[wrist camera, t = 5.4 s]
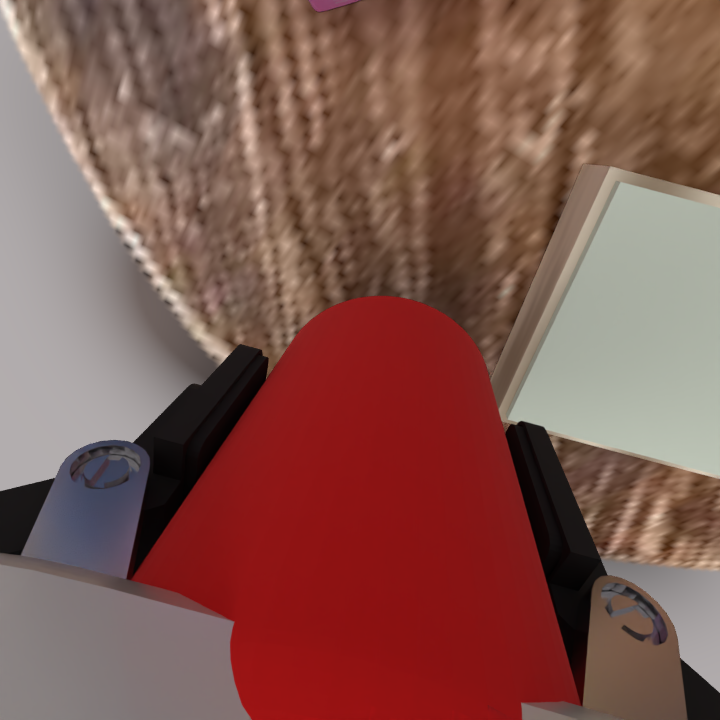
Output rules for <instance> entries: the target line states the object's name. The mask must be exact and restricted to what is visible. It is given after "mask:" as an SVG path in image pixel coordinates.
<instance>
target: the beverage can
mask: <svg viewBox="0 0 720 720" xmlns="http://www.w3.org/2000/svg"><path fill="white" fill-rule="evenodd" d="M131 581H135V582H139V583H143V584H147V585H150V586H154V587H158V588H162V589H165V590H169V591H173V592H176V593H179V594H181V595H183V596H185V597H187V598H189V599H191V600H193V601H195V602H197V603H199V604H201V605H202V606H204V607H206V608H208V609H210V610H212V611H214V612H216V613H218V614H220V615H222V616H224V617H226V618H227V619H229V620H232V621H234V625H233V629H232V634H231V639H230V660H231V666H232V671H233V677H234V682H235V685H236V688H237V691H238V694H239V698H240V701H241V704H242V706H243V707H244V709H245V710H246V712H247V713H248V715H249V716H250V718H251V719H252V720H522V706H521V703H541V702H561V701H564V702H568V703H571V704H575V705H578V706H581V704H580V700H579V696H578V693H577V689H576V686H575V682H574V679H573V675H572V671H571V668H570V664H569V661H568V657H567V653H566V650H565V646H564V643H563V639H562V636H561V632H560V628H559V625H558V621H557V618H556V614H555V611H554V607H553V603H552V600H551V596H550V593H549V589H548V586H547V582H546V578H545V575H544V571H543V568H542V564H541V560H540V557H539V553H538V550H537V546H536V543H535V539H534V535H533V532H532V528H531V525H530V521H529V518H528V514H527V510H526V507H525V503H524V500H523V496H522V493H521V489H520V485H519V482H518V478H517V475H516V471H515V467H514V464H513V460H512V457H511V453H510V450H509V446H508V442H507V439H506V435H505V432H504V428H503V425H502V421H501V417H500V414H499V410H498V407H497V403H496V400H495V396H494V392H493V389H492V385H491V382H490V378H489V374H488V371H487V367H486V364H485V362H484V359H483V357H482V355H481V353H480V351H479V349H478V348H477V346H476V344H475V343H474V341H473V340H472V339H471V337H470V336H469V335H468V334H467V333H466V332H465V331H464V329H463V328H462V327H461V326H459V325H458V324H457V323H456V322H455V321H454V320H452V319H451V318H449V317H448V316H446V315H445V314H444V313H442V312H440V311H438V310H436V309H434V308H433V307H430V306H428V305H425V304H423V303H420V302H417V301H414V300H411V299H406V298H401V297H393V296H369V297H361V298H356V299H352V300H348V301H345V302H342V303H339V304H337V305H335V306H332V307H330V308H328V309H326V310H325V311H323V312H321V313H320V314H318V315H317V316H316V317H314V318H313V319H311V320H310V321H309V322H308V323H307V324H306V325H305V326H304V327H303V328H302V329H301V330H300V331H299V333H298V334H297V335H296V336H295V338H294V339H293V341H292V342H291V344H290V345H289V347H288V348H287V349H286V351H285V352H284V354H283V355H282V357H281V358H280V360H279V361H278V363H277V364H276V366H275V367H274V369H273V370H272V372H271V373H270V375H269V376H268V378H267V379H266V380H265V382H264V383H263V385H262V386H261V388H260V389H259V391H258V392H257V394H256V395H255V397H254V398H253V400H252V401H251V403H250V404H249V406H248V407H247V409H246V410H245V411H244V413H243V414H242V416H241V417H240V419H239V420H238V422H237V423H236V425H235V426H234V428H233V429H232V431H231V432H230V434H229V435H228V437H227V438H226V440H225V441H224V442H223V444H222V445H221V447H220V448H219V450H218V451H217V453H216V454H215V456H214V457H213V459H212V460H211V462H210V463H209V465H208V466H207V468H206V469H205V471H204V472H203V473H202V475H201V476H200V478H199V479H198V481H197V482H196V484H195V485H194V487H193V488H192V490H191V491H190V493H189V494H188V496H187V497H186V499H185V500H184V502H183V503H182V505H181V506H180V507H179V509H178V510H177V512H176V513H175V515H174V516H173V518H172V519H171V521H170V522H169V524H168V525H167V527H166V528H165V530H164V531H163V533H162V534H161V536H160V537H159V538H158V540H157V541H156V543H155V544H154V546H153V547H152V549H151V550H150V552H149V553H148V555H147V556H146V558H145V559H144V561H143V562H142V564H141V565H140V567H139V568H138V569H137V571H136V572H135V574H134V575H133V577H132V578H131Z"/></svg>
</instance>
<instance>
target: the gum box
mask: <svg viewBox="0 0 720 720" xmlns="http://www.w3.org/2000/svg"><path fill="white" fill-rule="evenodd" d="M308 1H309V2H310V4H311V5H312V7H313V9H314V10H316V11H317V12H321V11H326V10H330V9H333V8H337V7H340V6H344V5H347V4H350V3H353V2H357V1H360V0H308Z"/></svg>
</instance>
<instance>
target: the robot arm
mask: <svg viewBox="0 0 720 720" xmlns="http://www.w3.org/2000/svg"><path fill="white" fill-rule="evenodd" d="M262 355H263V354H262V350H260V349H256V348H253V347H249V346H245V345H242V344H240V345H238V346H237V348H236V349H235V350H234V351H233V352H232V353H231V354H230V355H229V356H228V357H227V358H226V359H225V360H224V362H223V363H222V364H221V365H220V366H219V367H218V368H217V369H216V370H215V371H214V372H213V373H212V374H211V375H210V377H209V378H208V379H207V380H206V381H205V382H204V383H203V384H202V385H198V384H191V385H190V386H188V387H187V388H186V389H185V390H184V391H183V393H181V394H180V395H179V396H178V397H177V398H176V399H175V401H174V402H172V404H171V405H170V406H169V407H168V408H167V409H166V410H165V411H164V412H163V413H162V414H161V415H160V416H159V417H158V418H157V419H156V420H155V421H154V422H153V423H152V424H151V425H150V426H149V427H148V428H147V429H146V430H145V431H144V432H143V433H142V434H141V435H140V436H139V437H138V438H137V439H136V440H135V441H134V442H133V443H131V442H128V441H120V440H109V441H100V442H96V443H93V444H89V445H86V446H84V447H82V448H80V449H78V450H76V451H75V452H73V453H72V454H71V455H69V456H68V457H67V458H66V459H65V461H64V462H63V464H62V465H61V466H60V469H59V471H58V473H57V475H56V478H53V479H49V480H45V481H41V482H37V483H33V484H28V485H24V486H20V487H16V488H12V489H8V490H4V491H0V720H252V719H251V718H250V716H249V715H248V713H247V712H246V710H245V709H244V707H243V706H242V704H241V701H240V698H239V694H238V691H237V688H236V685H235V682H234V677H233V671H232V666H231V660H230V639H231V634H232V629H233V625H234V621H232V620H229V619H227V618H226V617H224V616H222V615H220V614H218V613H216V612H214V611H212V610H210V609H208V608H206V607H204V606H202V605H201V604H199V603H197V602H195V601H193V600H191V599H189V598H187V597H185V596H183V595H181V594H179V593H176V592H173V591H169V590H165V589H162V588H158V587H154V586H150V585H147V584H143V583H139V582H135V581H131V578H132V577H133V575H134V574H135V572H136V571H137V569H138V568H139V567H140V565H141V564H142V562H143V561H144V559H145V558H146V556H147V555H148V553H149V552H150V550H151V549H152V547H153V546H154V544H155V543H156V541H157V540H158V538H159V537H160V536H161V534H162V533H163V531H164V530H165V528H166V527H167V525H168V524H169V522H170V521H171V519H172V518H173V516H174V515H175V513H176V512H177V510H178V509H179V507H180V506H181V505H182V503H183V502H184V500H185V499H186V497H187V496H188V494H189V493H190V491H191V490H192V488H193V487H194V485H195V484H196V482H197V481H198V479H199V478H200V476H201V475H202V473H203V472H204V471H205V469H206V468H207V466H208V465H209V463H210V462H211V460H212V459H213V457H214V456H215V454H216V453H217V451H218V450H219V448H220V447H221V445H222V444H223V442H224V441H225V440H226V438H227V437H228V435H229V434H230V432H231V431H232V429H233V428H234V426H235V425H236V423H237V422H238V420H239V419H240V417H241V416H242V414H243V413H244V411H245V410H246V409H247V407H248V406H249V404H250V403H251V401H252V400H253V398H254V397H255V395H256V394H257V392H258V391H259V389H260V388H261V386H262V385H263V383H264V382H265V380H266V375H267V368H268V357H265V356H262ZM505 435H506V439H507V442H508V446H509V450H510V453H511V457H512V460H513V464H514V467H515V471H516V475H517V478H518V482H519V485H520V489H521V493H522V496H523V500H524V503H525V507H526V510H527V514H528V518H529V521H530V525H531V528H532V532H533V535H534V539H535V543H536V546H537V550H538V553H539V557H540V560H541V564H542V568H543V571H544V575H545V578H546V582H547V586H548V589H549V593H550V596H551V600H552V603H553V607H554V611H555V614H556V618H557V621H558V625H559V628H560V632H561V636H562V639H563V643H564V646H565V650H566V653H567V657H568V661H569V664H570V668H571V671H572V675H573V679H574V682H575V686H576V689H577V693H578V696H579V700H580V704H581V706H578V705H575V704H571V703H568V702H564V701H561V702H541V703H521V706H522V720H720V693H719V692H718V691H717V690H716V689H715V688H714V687H712V686H711V685H710V684H709V683H708V682H707V681H706V680H705V679H703V678H702V677H701V676H700V675H699V674H698V673H697V672H695V671H694V670H693V669H692V668H691V667H690V666H689V665H688V664H686V663H685V662H684V661H683V660H682V659H681V658H680V654H679V646H678V638H677V634H676V631H675V627H674V625H673V623H672V622H671V620H670V618H669V617H668V615H667V613H666V612H665V611H664V610H663V609H662V607H661V606H660V605H659V604H658V603H657V602H656V601H655V600H654V599H653V598H652V597H651V596H650V595H649V594H648V593H646V592H645V591H643V590H642V589H641V588H639V587H638V586H636V585H635V584H633V583H631V582H629V581H627V580H625V579H622V578H619V577H615V576H608V575H607V573H606V571H605V568H604V566H603V563H602V561H601V558H600V556H599V553H598V551H597V549H596V546H595V544H594V542H593V539H592V537H591V535H590V532H589V530H588V528H587V525H586V523H585V521H584V518H583V516H582V514H581V511H580V509H579V506H578V504H577V502H576V499H575V497H574V495H573V492H572V490H571V488H570V485H569V483H568V481H567V478H566V476H565V474H564V471H563V469H562V467H561V464H560V462H559V460H558V457H557V455H556V452H555V450H554V448H553V445H552V443H551V441H550V438H549V436H548V434H547V431H546V429H545V428H544V427H543V426H539V425H536V424H532V423H528V422H525V421H519V422H518V423H517V425H514V424H511V425H510V426H509V427H508V429H507V431H506V433H505Z"/></svg>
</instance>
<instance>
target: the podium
mask: <svg viewBox="0 0 720 720" xmlns="http://www.w3.org/2000/svg"><path fill="white" fill-rule="evenodd" d="M490 382H491V385H492V389H493V392H494V396H495V400H496V403H497V407H498V410H499V414H500V417H501V421H502V422H506V423H510V424H514V425H517V423H518V422H519V421H525V422H528V423H532V424H536V425H539V426H543V427H544V428H545V429H546V431H547V433H548V434H551V435H555V436H559V437H563V438H566V439H570V440H574V441H578V442H582V443H585V444H589V445H593V446H597V447H600V448H604V449H608V450H612V451H616V452H619V453H623V454H627V455H631V456H635V457H638V458H642V459H646V460H650V461H653V462H657V463H661V464H665V465H669V466H672V467H676V468H680V469H684V470H687V471H691V472H695V473H699V474H703V475H706V476H710V477H714V478H718V479H720V195H717V194H713V193H709V192H706V191H702V190H698V189H694V188H691V187H687V186H683V185H679V184H675V183H672V182H668V181H664V180H660V179H656V178H653V177H649V176H645V175H641V174H637V173H634V172H630V171H626V170H622V169H619V168H615V167H611V166H601V165H591V164H583V166H582V168H581V170H580V173H579V175H578V177H577V180H576V182H575V184H574V187H573V189H572V191H571V194H570V196H569V198H568V201H567V203H566V205H565V208H564V210H563V212H562V215H561V217H560V219H559V221H558V224H557V226H556V228H555V231H554V233H553V235H552V238H551V240H550V242H549V245H548V247H547V249H546V252H545V254H544V256H543V259H542V261H541V263H540V266H539V268H538V270H537V272H536V275H535V277H534V279H533V282H532V284H531V286H530V289H529V291H528V293H527V296H526V298H525V300H524V303H523V305H522V307H521V310H520V312H519V314H518V317H517V319H516V321H515V324H514V326H513V328H512V330H511V333H510V335H509V337H508V340H507V342H506V344H505V347H504V349H503V351H502V354H501V356H500V358H499V361H498V363H497V365H496V368H495V370H494V372H493V375H492V377H491V379H490Z"/></svg>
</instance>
